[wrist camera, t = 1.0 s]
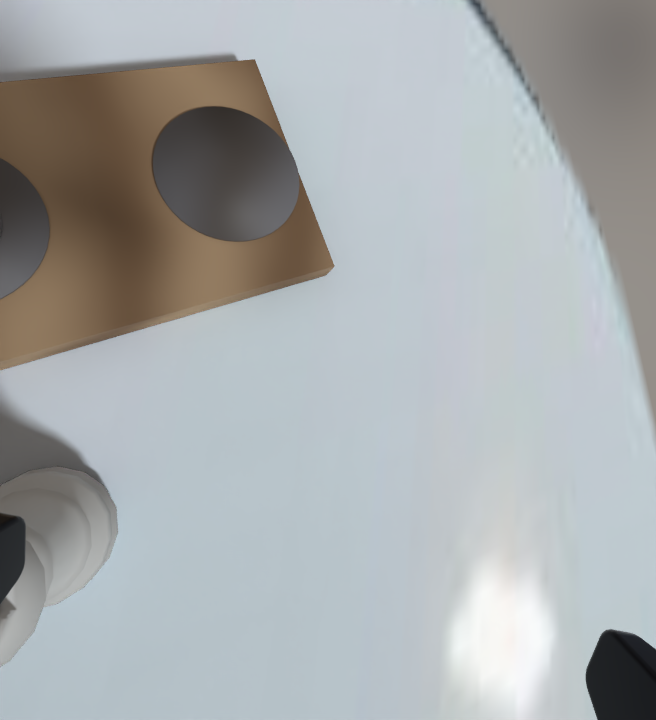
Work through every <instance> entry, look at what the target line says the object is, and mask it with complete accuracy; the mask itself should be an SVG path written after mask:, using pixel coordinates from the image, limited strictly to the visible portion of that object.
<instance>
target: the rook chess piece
mask: <svg viewBox="0 0 656 720" xmlns="http://www.w3.org/2000/svg"><path fill="white" fill-rule="evenodd" d="M0 512H1V513H6V514H11V515H17V516H20V517H22V518H23V519H24V521H25V523H26V552H25V565H24V569H23V571H22V574H21V576H20V577H19V579H18V581H17V582H16V583H15V585H14V586H13V588H12V589H11V590H10V592H9V593H8V595H7V596H6V597H5V599H4V600H3V602H2V603H1V604H0V667H1V666H3V665H5V664H6V663H8V662H9V661H10V660H11V659H12V658H13V657H14V655H15V654H16V653H17V652H18V651H19V649H20V648H21V647H22V646H23V645H24V643H25V642H26V641H27V640H28V638H29V637H30V636H31V635H32V634H33V632H34V631H35V628H36V625H37V623H38V620H39V617H40V614H41V612H42V609H43V607H47V606H51V605H55V604H58V603H60V602H61V601H63V600H65V599H66V598H68V597H69V596H71V595H73V594H74V593H76V592H77V591H79V590H81V589H82V588H84V587H85V586H86V585H87V583H88V582H89V581H90V580H92V578H93V577H94V576H95V575H96V573H97V572H98V571H99V570H100V569H101V567H102V566H103V565H104V564H105V562H106V561H107V560H108V559H109V557H110V555H111V552H112V549H113V546H114V543H115V540H116V537H117V534H118V523H117V509H116V506H115V504H114V502H113V500H112V499H111V497H110V495H109V493H108V492H107V490H106V488H105V486H103V485H102V484H101V483H99V482H98V481H96V480H95V479H93V478H92V477H91V476H89V475H88V474H86V473H85V472H82V471H77V470H73V469H68V468H64V467H59V466H57V467H50V468H43V469H36V470H29V471H27V472H25V473H24V474H22V475H20V476H18V477H16V478H14V479H12V480H10V481H8V482H6V483H4V484H2V485H1V486H0Z"/></svg>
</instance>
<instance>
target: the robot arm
mask: <svg viewBox="0 0 656 720" xmlns="http://www.w3.org/2000/svg"><path fill="white" fill-rule="evenodd" d="M25 552H26V523H25V521H24V519H23V518H22V517H20V516H17V515H11V514H6V513H1V512H0V604H1V603H2V602H3V600H4V599H5V597H6V596H7V595H8V593H9V592H10V590H11V589H12V588H13V586H14V585H15V583H16V582H17V581H18V579H19V577H20V576H21V574H22V571H23V569H24V565H25ZM586 684H587V689H588V692H589V695H590V698H591V701H592V704H593V707H594V710H595V713H596V716H597V719H598V720H656V649H655V648H653V647H652V646H651V645H649V644H648V643H647V642H645V641H644V640H643V639H641V638H640V637H639V636H637V635H635V634H632V633H628V632H623V631H617V630H612V629H609V630H606V631H604V632H603V633H602V634H601V636H600V638H599V641H598V643H597V645H596V648H595V650H594V652H593V655H592V657H591V659H590V662H589V664H588V666H587V670H586Z"/></svg>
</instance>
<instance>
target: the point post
mask: <svg viewBox="0 0 656 720" xmlns="http://www.w3.org/2000/svg"><path fill="white" fill-rule="evenodd" d="M2 232H3V221H2V217H1V214H0V239H1V237H2Z"/></svg>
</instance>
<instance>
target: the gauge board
mask: <svg viewBox="0 0 656 720" xmlns="http://www.w3.org/2000/svg"><path fill="white" fill-rule="evenodd" d="M0 214H1V217H2V221H3V232H2V237H1V239H0V370H3V369H6V368H10V367H13V366H17V365H20V364H24V363H27V362H30V361H34V360H37V359H41V358H44V357H48V356H51V355H54V354H58V353H61V352H65V351H68V350H72V349H75V348H78V347H82V346H85V345H89V344H92V343H96V342H99V341H102V340H106V339H109V338H113V337H116V336H120V335H123V334H126V333H130V332H133V331H137V330H140V329H144V328H147V327H150V326H154V325H157V324H161V323H164V322H168V321H171V320H174V319H178V318H181V317H185V316H188V315H192V314H195V313H198V312H202V311H205V310H209V309H212V308H216V307H219V306H222V305H226V304H229V303H233V302H236V301H240V300H243V299H246V298H250V297H253V296H257V295H260V294H264V293H267V292H270V291H274V290H277V289H281V288H284V287H288V286H291V285H294V284H298V283H301V282H305V281H308V280H312V279H315V278H318V277H322V276H325V275H327V274H328V273H329V272H330V270H331V269H332V268H333V267H334V264H333V261H332V259H331V256H330V253H329V251H328V248H327V246H326V243H325V240H324V238H323V235H322V233H321V230H320V227H319V225H318V222H317V220H316V217H315V214H314V212H313V209H312V207H311V204H310V201H309V199H308V196H307V194H306V191H305V188H304V186H303V183H302V181H301V178H300V176H299V173H298V169H297V166H296V163H295V160H294V158H293V156H292V153H291V152H290V150H289V147H288V144H287V142H286V139H285V137H284V134H283V131H282V129H281V126H280V124H279V121H278V118H277V116H276V113H275V111H274V108H273V105H272V103H271V100H270V98H269V95H268V93H267V90H266V87H265V85H264V82H263V80H262V77H261V74H260V72H259V69H258V67H257V64H256V61H255V59H254V60H243V61H232V62H221V63H209V64H198V65H187V66H176V67H165V68H154V69H142V70H131V71H120V72H109V73H98V74H87V75H75V76H64V77H53V78H42V79H31V80H20V81H8V82H0Z"/></svg>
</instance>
